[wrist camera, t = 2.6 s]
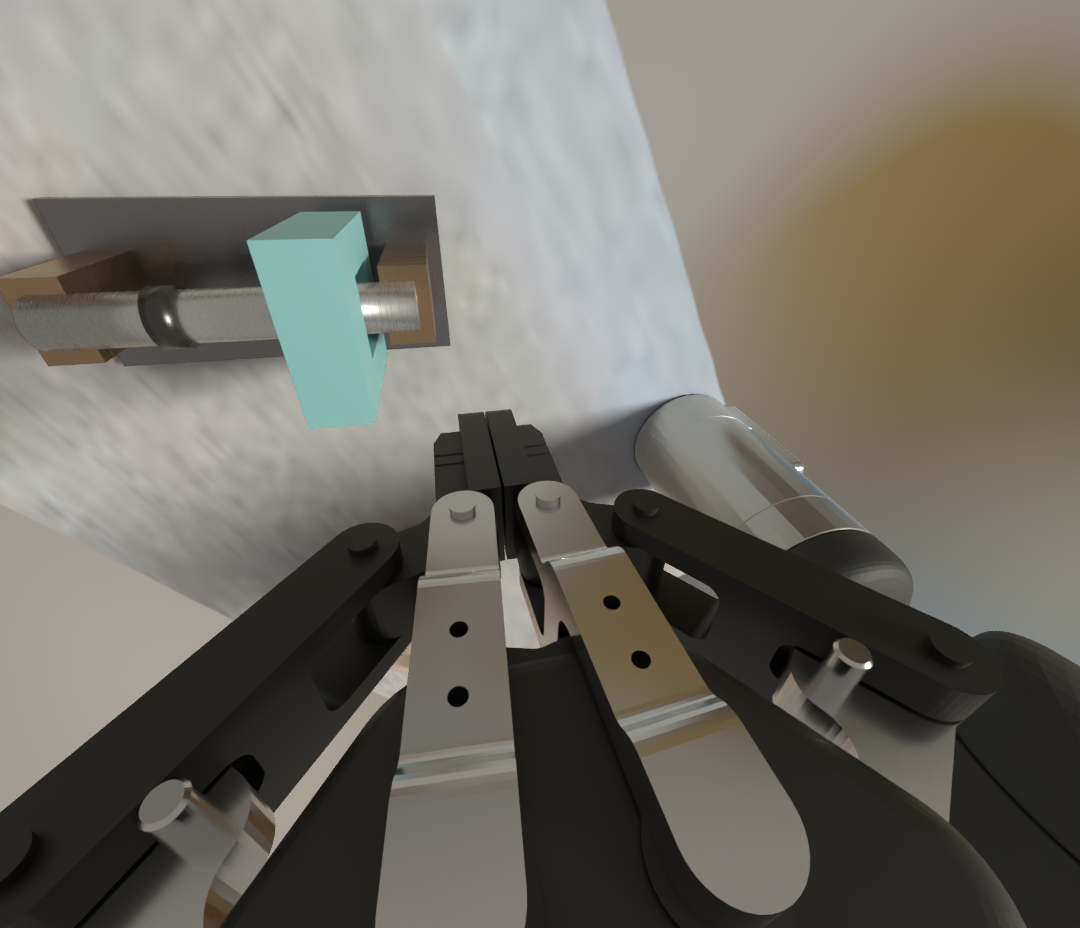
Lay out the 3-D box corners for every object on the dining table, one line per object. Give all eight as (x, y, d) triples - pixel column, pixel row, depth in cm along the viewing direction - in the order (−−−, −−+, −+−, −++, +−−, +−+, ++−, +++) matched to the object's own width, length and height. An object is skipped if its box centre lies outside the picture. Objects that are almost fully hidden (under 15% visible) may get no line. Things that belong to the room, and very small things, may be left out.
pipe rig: (434, 195, 27) (437, 211, 20) (449, 341, 32) (456, 393, 25) (43, 197, 24) (-110, 218, 17) (130, 361, 29) (40, 427, 22)
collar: (360, 211, 24) (333, 238, 17) (387, 354, 29) (375, 423, 22) (300, 211, 24) (246, 240, 17) (337, 357, 28) (308, 429, 21)
